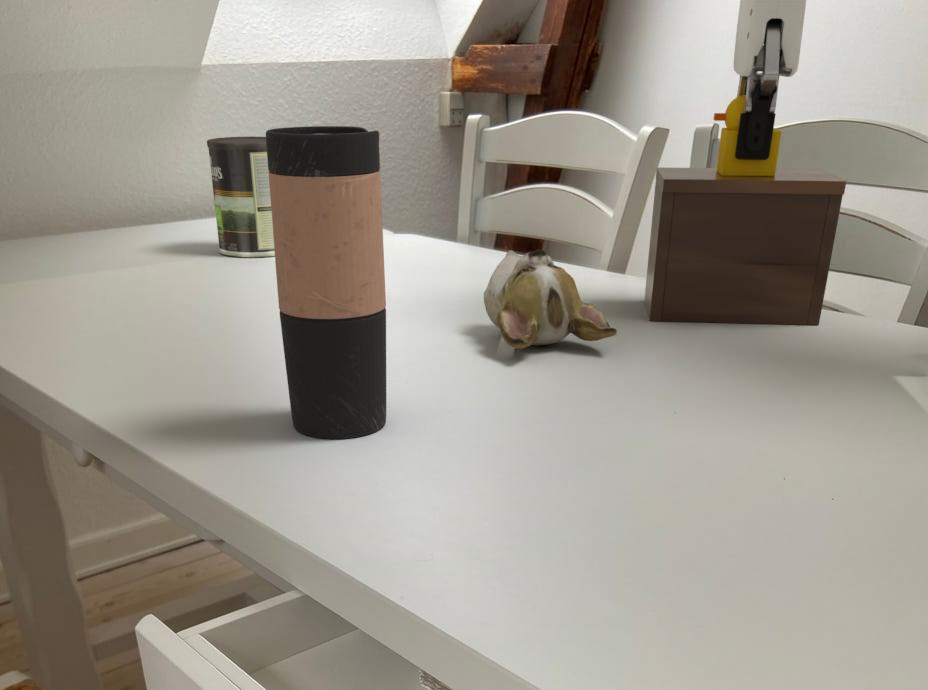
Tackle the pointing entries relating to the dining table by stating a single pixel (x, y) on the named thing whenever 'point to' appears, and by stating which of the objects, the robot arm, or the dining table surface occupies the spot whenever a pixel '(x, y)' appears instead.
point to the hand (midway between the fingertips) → (748, 154)
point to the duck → (728, 142)
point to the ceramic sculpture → (539, 303)
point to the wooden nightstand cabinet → (741, 246)
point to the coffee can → (242, 196)
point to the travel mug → (330, 276)
